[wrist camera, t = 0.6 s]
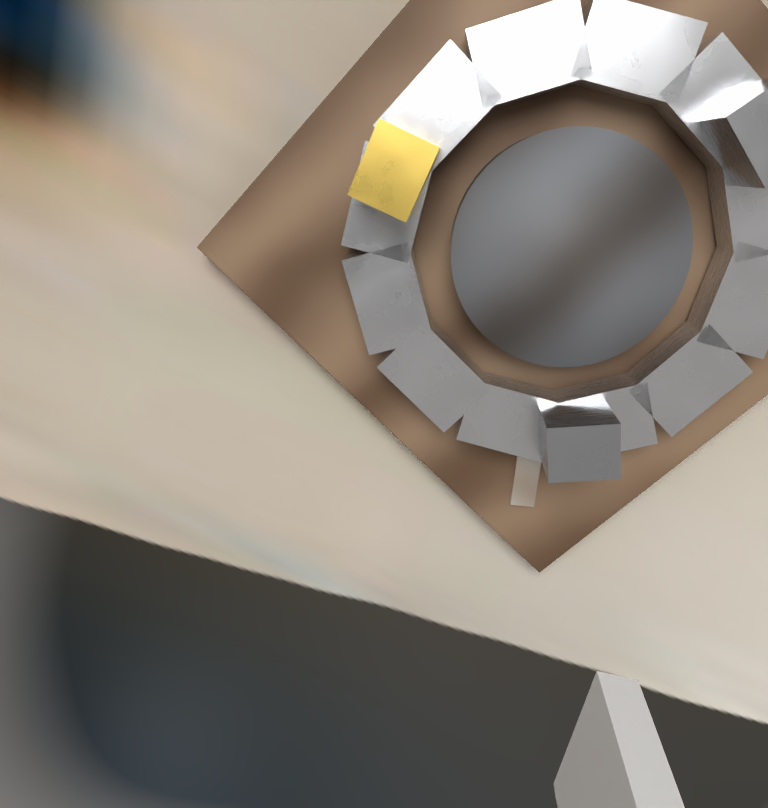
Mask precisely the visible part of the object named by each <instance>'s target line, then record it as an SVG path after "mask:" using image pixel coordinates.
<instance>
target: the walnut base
mask: <svg viewBox="0 0 768 808" xmlns="http://www.w3.org/2000/svg"><path fill="white" fill-rule="evenodd" d="M551 1H554V0H410V1H409V2H408V3H407V4H406V6H405V7H404V8H403V9H402V10H401V11H400V12H399V14H398V15H397V16H396V17H395V18H394V19H393V21H392V22H391V23H390V24H389V25H388V26H387V28H386V29H385V30H384V31H383V32H382V33H381V35H380V36H379V37H378V38H377V39H376V40H375V41H374V43H373V44H372V45H371V46H370V47H369V48H368V50H367V51H366V52H365V53H364V54H363V55H362V57H361V58H360V59H359V60H358V61H357V62H356V63H355V65H354V66H353V67H352V68H351V69H350V70H349V72H348V73H347V74H346V75H345V76H344V77H343V79H342V80H341V81H340V82H339V83H338V84H337V86H336V87H335V88H334V89H333V90H332V91H331V92H330V94H329V95H328V96H327V97H326V98H325V99H324V101H323V102H322V103H321V104H320V105H319V106H318V108H317V109H316V110H315V111H314V112H313V113H312V115H311V116H310V117H309V118H308V119H307V120H306V121H305V123H304V124H303V125H302V126H301V127H300V128H299V130H298V131H297V132H296V133H295V134H294V135H293V137H292V138H291V139H290V140H289V141H288V142H287V144H286V145H285V146H284V147H283V148H282V149H281V150H280V152H279V153H278V154H277V155H276V156H275V157H274V159H273V160H272V161H271V162H270V163H269V164H268V166H267V167H266V168H265V169H264V170H263V171H262V172H261V174H260V175H259V176H258V177H257V178H256V179H255V181H254V182H253V183H252V184H251V185H250V186H249V188H248V189H247V190H246V191H245V192H244V193H243V195H242V196H241V197H240V198H239V199H238V200H237V201H236V203H235V204H234V205H233V206H232V207H231V208H230V210H229V211H228V212H227V213H226V214H225V215H224V217H223V218H222V219H221V220H220V221H219V222H218V224H217V225H216V226H215V227H214V228H213V229H212V230H211V232H210V233H209V234H208V235H207V236H206V237H205V239H204V240H203V241H202V242H201V243H200V244H199V246H198V247H197V248H198V249H199V250H200V251H201V252H202V253H203V254H204V255H205V256H207V257H208V258H209V259H210V260H211V261H212V262H213V263H214V264H215V265H216V266H217V267H218V268H219V269H220V270H221V271H222V272H223V273H224V274H226V275H227V276H228V277H229V278H230V279H231V280H232V281H233V282H234V283H235V284H236V285H237V286H238V287H239V288H240V289H241V290H242V291H243V292H244V293H246V294H247V295H248V296H249V297H250V298H251V299H252V300H253V301H254V302H255V303H256V304H257V305H258V306H259V307H260V308H261V309H262V310H263V311H264V312H266V313H267V314H268V315H269V316H270V317H271V318H272V319H273V320H274V321H275V322H276V323H277V324H278V325H279V326H280V327H281V328H282V329H283V330H285V331H286V332H287V333H288V334H289V335H290V336H291V337H292V338H293V339H294V340H295V341H296V342H297V343H298V344H299V345H300V346H301V347H302V348H303V349H305V350H306V351H307V352H308V353H309V354H310V355H311V356H312V357H313V358H314V359H315V360H316V361H317V362H318V363H319V364H320V365H321V366H322V367H323V368H325V369H326V370H327V371H328V372H329V373H330V374H331V375H332V376H333V377H334V378H335V379H336V380H337V381H338V382H339V383H340V384H341V385H342V386H344V387H345V388H346V389H347V390H348V391H349V392H350V393H351V394H352V395H353V396H354V397H355V398H356V399H357V400H358V401H359V402H360V403H361V404H362V405H364V406H365V407H366V408H367V409H368V410H369V411H370V412H371V413H372V414H373V415H374V416H375V417H376V418H377V419H378V420H379V421H380V422H381V423H383V424H384V425H385V426H386V427H387V428H388V429H389V430H390V431H391V432H392V433H393V434H394V435H395V436H396V437H397V438H398V439H399V440H400V441H401V442H403V443H404V444H405V445H406V446H407V447H408V448H409V449H410V450H411V451H412V452H413V453H414V454H415V455H416V456H417V457H418V458H419V459H420V460H421V461H423V462H424V463H425V464H426V465H427V466H428V467H429V468H430V469H431V470H432V471H433V472H434V473H435V474H436V475H437V476H438V477H439V478H440V479H442V480H443V481H444V482H445V483H446V484H447V485H448V486H449V487H450V488H451V489H452V490H453V491H454V492H455V493H456V494H457V495H458V496H459V497H460V498H462V499H463V500H464V501H465V502H466V503H467V504H468V505H469V506H470V507H471V508H472V509H473V510H474V511H475V512H476V513H477V514H478V515H479V516H480V517H482V518H483V519H484V520H485V521H486V522H487V523H488V524H489V525H490V526H491V527H492V528H493V529H494V530H495V531H496V532H497V533H498V534H499V535H501V536H502V537H503V538H504V539H505V540H506V541H507V542H508V543H509V544H510V545H511V546H512V547H513V548H514V549H515V550H516V551H517V552H518V553H519V554H521V555H522V556H523V557H524V558H525V559H526V560H527V561H528V562H529V563H530V564H531V565H532V566H533V567H534V568H535V569H536V570H537V571H538V572H541V571H542V570H543V569H544V568H546V567H547V566H548V565H550V564H551V563H552V562H553V561H555V560H556V559H557V558H559V557H560V556H561V555H562V554H564V553H565V552H566V551H568V550H569V549H570V548H571V547H573V546H574V545H575V544H577V543H578V542H579V541H580V540H582V539H583V538H584V537H585V536H587V535H588V534H589V533H591V532H592V531H593V530H594V529H596V528H597V527H598V526H600V525H601V524H602V523H603V522H605V521H606V520H607V519H609V518H610V517H611V516H612V515H614V514H615V513H616V512H618V511H619V510H620V509H621V508H623V507H624V506H625V505H626V504H628V503H629V502H630V501H632V500H633V499H634V498H635V497H637V496H638V495H639V494H641V493H642V492H643V491H644V490H646V489H647V488H648V487H650V486H651V485H652V484H653V483H655V482H656V481H657V480H659V479H660V478H661V477H662V476H664V475H665V474H666V473H667V472H669V471H670V470H671V469H673V468H674V467H675V466H676V465H678V464H679V463H680V462H682V461H683V460H684V459H685V458H687V457H688V456H689V455H691V454H692V453H693V452H694V451H696V450H697V449H698V448H700V447H701V446H702V445H703V444H705V443H706V442H707V441H708V440H710V439H711V438H712V437H714V436H715V435H716V434H717V433H719V432H720V431H721V430H723V429H724V428H725V427H726V426H728V425H729V424H730V423H732V422H733V421H734V420H735V419H737V418H738V417H739V416H741V415H742V414H743V413H744V412H746V411H747V410H748V409H749V408H751V407H752V406H753V405H755V404H756V403H757V402H758V401H760V400H761V399H762V398H764V397H765V396H766V395H767V394H768V350H767V352H766V355H765V357H764V359H760V358H757V357H753V356H749V355H745V354H742V353H738V352H736V354H737V355H738V356H739V357H740V358H741V359H742V360H743V361H744V362H745V363H746V365H747V366H748V367H749V368H750V369H751V370H752V371H753V373H752V374H750V375H749V376H748V377H746V378H745V379H744V380H743V381H741V382H740V383H739V384H738V385H736V386H735V387H734V388H733V389H731V390H730V391H729V392H728V393H726V394H725V395H724V396H723V397H721V398H720V399H719V400H718V401H716V402H715V403H714V404H713V405H711V406H710V407H709V408H708V409H706V410H705V411H704V412H703V413H701V414H700V415H699V416H698V417H696V418H695V419H694V420H692V421H691V422H690V423H689V424H687V425H686V426H685V427H684V428H682V429H681V430H680V431H679V432H677V433H676V434H675V435H674V436H672V437H671V436H670V435H669V434H668V433H667V432H666V431H665V429H664V428H663V427H662V426H661V425H660V424H659V423H658V422H657V421H656V420H655V419H654V418H653V419H654V425H655V430H656V436H657V442H658V444H654V445H649V446H644V447H640V448H635V449H630V450H626V451H621V479H618V480H599V481H581V482H562V483H548V480H547V477H546V474H545V471H544V468H543V464H542V463H541V462H538V461H534V460H530V459H526V458H523V457H519V456H515V455H512V454H508V453H504V452H501V451H497V450H493V449H489V448H486V447H482V446H478V445H475V444H471V443H467V442H464V441H460V440H456V423H457V421H456V422H455V423H454V424H453V425H452V426H451V427H450V428H449V429H447V430H446V431H445V432H443V431H442V430H441V429H440V428H439V427H438V426H437V425H436V424H435V423H433V422H432V421H431V420H430V419H429V418H428V417H427V416H426V415H425V414H424V413H423V412H422V411H421V410H420V409H419V408H418V407H417V406H416V405H415V404H414V403H413V402H412V401H411V400H410V399H409V398H408V397H407V396H406V395H404V394H403V393H402V392H401V391H400V390H399V389H398V388H397V387H396V386H395V385H394V384H393V383H392V382H391V381H390V380H389V379H388V378H387V377H386V376H385V375H384V374H383V373H382V372H381V371H380V370H379V369H378V368H377V365H378V362H379V359H380V356H381V355H382V354H383V353H385V352H386V351H384V352H380V353H376V354H372V355H369V353H368V350H367V346H366V343H365V339H364V336H363V333H362V329H361V326H360V322H359V319H358V316H357V312H356V309H355V305H354V302H353V298H352V295H351V292H350V288H349V285H348V281H347V278H346V275H345V271H344V268H343V264H342V260H343V259H344V258H345V257H346V256H347V255H350V254H353V253H357V252H360V251H361V250H357V249H353V248H350V247H346V246H342V245H341V243H342V238H343V234H344V230H345V225H346V221H347V217H348V212H349V208H350V204H351V199H352V197H351V196H348V195H347V194H348V191H349V189H350V186H351V184H352V182H353V179H354V177H355V174H356V172H357V169H358V167H359V165H360V160H361V156H362V152H363V147H364V143H365V140H366V141H370V138H371V136H372V133H373V131H374V129H375V127H374V126H373V125H374V123H375V122H376V121H377V120H378V119H379V118H380V117H381V116H382V115H383V113H384V112H385V111H386V110H387V109H388V108H389V107H390V106H391V105H392V103H393V102H394V101H395V100H396V99H397V98H398V97H399V96H400V95H401V93H402V92H403V91H404V90H405V89H406V88H407V87H408V86H409V85H410V83H411V82H412V81H413V80H414V79H415V78H416V77H417V76H418V75H419V73H420V72H421V71H422V70H423V69H424V68H425V67H426V66H427V65H428V63H429V62H430V61H431V60H432V59H433V58H434V57H435V56H436V55H437V53H438V52H439V51H440V50H441V49H442V48H443V47H444V46H445V44H446V43H447V42H448V41H449V40H450V39H451V40H452V41H453V43H454V44H455V45H456V46H457V47H458V48H459V49H460V50H461V51H462V52H463V54H464V55H465V56H466V57H467V58H468V59H469V57H468V52H467V48H466V43H465V39H464V36H465V29H468V28H471V27H474V26H477V25H480V24H483V23H486V22H489V21H492V20H495V19H499V18H502V17H505V16H508V15H511V14H514V13H517V12H520V11H523V10H527V9H530V8H533V7H536V6H539V5H542V4H545V3H548V2H551ZM588 1H589V0H580V5H581V10H582V16H583V13H584V10H585V7H586V4H587V2H588ZM627 1H630V2H634V3H638V4H642V5H645V6H649V7H653V8H656V9H660V10H664V11H667V12H671V13H675V14H678V15H682V16H686V17H689V18H693V19H697V20H701V21H704V22H708V24H707V26H706V29H705V32H704V35H703V37H702V40H701V43H702V42H703V41H704V40H706V39H708V38H711V37H713V36H715V35H717V34H719V33H721V32H723V33H724V34H725V36H726V37H727V38H728V39H729V40H730V42H731V43H732V44H733V45H734V46H735V48H736V49H737V50H738V51H739V53H740V54H741V55H742V56H743V57H744V59H745V60H746V61H747V62H748V63H749V65H750V66H751V67H752V68H753V69H754V71H755V72H756V73H757V74H758V76H759V77H760V78H761V79H762V80H763V79H767V78H768V9H767V8H766V6H765V5H764V4H763V3H762V1H761V0H627ZM701 43H700V44H701ZM716 247H717V245H716V238H715V231H714V224H713V216H712V209H711V202H710V195H709V187H708V180H707V173H706V167H705V166H704V165H703V163H702V162H701V161H700V160H699V159H698V158H697V156H696V155H695V154H694V153H693V152H692V151H691V149H690V148H689V147H688V146H687V145H686V144H685V143H684V141H683V140H682V139H681V138H680V137H679V136H678V134H677V133H676V132H675V131H674V130H673V129H672V128H671V126H670V125H669V124H668V123H667V122H666V121H665V119H664V118H663V117H662V116H661V115H660V114H659V113H658V111H657V110H656V109H655V108H654V107H653V106H651V105H647V104H644V103H640V102H636V101H633V100H629V99H625V98H621V97H618V96H614V95H610V94H607V93H603V92H599V91H596V90H592V89H588V88H585V87H581V86H577V85H574V84H572V85H569V86H566V87H562V88H559V89H556V90H552V91H549V92H546V93H542V94H539V95H536V96H533V97H529V98H526V99H523V100H519V101H516V102H513V103H509V104H506V105H503V106H499V107H496V108H493V109H491V110H490V111H489V112H488V113H487V114H486V115H485V116H484V117H483V118H482V119H481V120H480V121H479V122H478V123H477V125H476V126H475V127H474V128H473V129H472V130H471V131H470V132H469V133H468V134H467V135H466V136H465V137H464V138H463V139H462V140H461V141H460V142H459V143H458V144H457V146H456V147H455V148H454V149H453V150H452V151H451V152H450V153H449V154H448V155H447V156H446V157H445V158H444V159H443V160H442V161H441V162H440V163H439V164H438V165H437V167H436V168H435V169H434V170H433V172H432V176H431V180H430V184H429V187H428V191H427V195H426V199H425V203H424V206H423V210H422V214H421V218H420V222H419V225H418V229H417V233H416V237H415V240H414V244H413V251H414V255H415V259H416V262H417V266H418V270H419V274H420V278H421V281H422V285H423V289H424V293H425V297H426V301H427V304H428V308H429V312H430V316H431V320H432V321H433V322H434V323H435V324H436V325H437V326H438V327H439V328H440V329H441V330H442V331H443V332H444V333H445V334H446V335H447V336H448V337H449V338H450V339H451V340H452V341H453V342H454V343H455V344H456V345H457V346H458V347H459V348H460V349H461V350H462V351H463V352H464V353H465V354H466V355H467V356H468V357H469V358H470V359H471V360H472V361H473V362H474V363H475V364H476V365H477V366H478V367H479V368H480V369H481V370H482V371H485V372H488V373H492V374H496V375H500V376H503V377H507V378H511V379H514V380H518V381H522V382H525V383H529V384H533V385H537V386H540V387H544V388H548V389H551V390H554V389H558V388H562V387H567V386H571V385H575V384H579V383H584V382H588V381H592V380H597V379H601V378H605V377H609V376H614V375H618V374H622V373H626V372H627V371H629V370H630V369H631V368H632V367H633V366H634V365H636V364H637V363H638V362H639V361H640V360H642V359H643V358H644V357H645V356H646V355H647V354H649V353H650V352H651V351H652V350H653V349H655V348H656V347H657V346H658V345H659V344H660V343H662V342H663V341H664V340H665V339H666V338H668V337H669V336H670V335H671V334H672V333H673V332H675V331H676V330H677V329H678V328H679V327H681V326H682V325H683V324H684V323H685V322H686V321H687V319H688V316H689V314H690V311H691V309H692V306H693V304H694V301H695V299H696V297H697V294H698V292H699V289H700V287H701V284H702V282H703V279H704V277H705V274H706V272H707V270H708V267H709V265H710V262H711V260H712V257H713V255H714V252H715V250H716Z"/></svg>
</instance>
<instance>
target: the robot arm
mask: <svg viewBox="0 0 768 808" xmlns="http://www.w3.org/2000/svg"><path fill="white" fill-rule="evenodd" d="M554 789H555V795H556V801H557V806H558V808H685V807H684V805H683V802H682V799H681V796H680V794H679V791H678V789H677V786H676V783H675V780H674V777H673V775H672V772H671V769H670V766H669V764H668V761H667V758H666V756H665V753H664V751H663V748H662V745H661V742H660V739H659V736H658V734H657V731H656V728H655V726H654V723H653V720H652V718H651V715H650V712H649V709H648V706H647V704H646V701H645V699H644V696H643V693H642V690H641V687H640V685H639V682H638V680H633V679H629V678H625V677H621V676H616V675H612V674H608V673H603V672H599V671H597V672H596V675H595V677H594V680H593V682H592V685H591V688H590V690H589V693H588V696H587V698H586V701H585V703H584V706H583V708H582V711H581V714H580V716H579V719H578V722H577V724H576V727H575V730H574V732H573V735H572V738H571V740H570V742H569V745H568V748H567V750H566V753H565V755H564V758H563V761H562V763H561V766H560V768H559V771H558V774H557V776H556V779H555V782H554Z"/></svg>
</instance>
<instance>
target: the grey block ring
mask: <svg viewBox="0 0 768 808" xmlns="http://www.w3.org/2000/svg"><path fill="white" fill-rule="evenodd" d="M707 24H708V22H704V21H701V20H697V19H693V18H689V17H686V16H682V15H678V14H675V13H671V12H667V11H664V10H660V9H656V8H653V7H649V6H645V5H642V4H638V3H634V2H630V1H627V0H589V1H588V2H587V4H586V7H585V10H584V13H583V16H582V10H581V5H580V0H554V1H551V2H548V3H545V4H542V5H539V6H536V7H533V8H530V9H527V10H523V11H520V12H517V13H514V14H511V15H508V16H505V17H502V18H499V19H495V20H492V21H489V22H486V23H483V24H480V25H477V26H474V27H471V28H468V29H465V36H464V39H465V43H466V48H467V52H468V57H469V59H468V58H467V57H466V56H465V55H464V54H463V52H462V51H461V50H460V49H459V48H458V47H457V46H456V45H455V44H454V43H453V41H452V40H451V39H450V40H449V41H448V42H447V43H446V44H445V46H444V47H443V48H442V49H441V50H440V51H439V52H438V53H437V55H436V56H435V57H434V58H433V59H432V60H431V61H430V62H429V63H428V65H427V66H426V67H425V68H424V69H423V70H422V71H421V72H420V73H419V75H418V76H417V77H416V78H415V79H414V80H413V81H412V82H411V83H410V85H409V86H408V87H407V88H406V89H405V90H404V91H403V92H402V93H401V95H400V96H399V97H398V98H397V99H396V100H395V101H394V102H393V103H392V105H391V106H390V107H389V108H388V109H387V110H386V111H385V112H384V113H383V115H382V116H381V117H380V118H379V119H378V120H377V121H376V122H375V123H374V125H373V126H374V127H375V129H374V131H373V133H372V136H371V138H370V141H366V140H365V143H364V147H363V152H362V156H361V160H360V165H359V167H358V169H357V172H356V174H355V177H354V179H353V182H352V184H351V186H350V189H349V191H348V194H347V195H348V196H351V197H352V199H351V204H350V208H349V212H348V217H347V221H346V225H345V230H344V234H343V238H342V243H341V245H342V246H346V247H350V248H353V249H357V250H361V251H360V252H357V253H353V254H350V255H347V256H346V257H345V258H344V259H343V260H342V264H343V268H344V271H345V275H346V278H347V281H348V285H349V288H350V292H351V295H352V298H353V302H354V305H355V309H356V312H357V316H358V319H359V322H360V326H361V329H362V333H363V336H364V339H365V343H366V346H367V350H368V353H369V355H372V354H376V353H380V352H384V351H386V352H385V353H383V354H382V355H381V356H380V359H379V362H378V365H377V368H378V369H379V370H380V371H381V372H382V373H383V374H384V375H385V376H386V377H387V378H388V379H389V380H390V381H391V382H392V383H393V384H394V385H395V386H396V387H397V388H398V389H399V390H400V391H401V392H402V393H403V394H404V395H406V396H407V397H408V398H409V399H410V400H411V401H412V402H413V403H414V404H415V405H416V406H417V407H418V408H419V409H420V410H421V411H422V412H423V413H424V414H425V415H426V416H427V417H428V418H429V419H430V420H431V421H432V422H433V423H435V424H436V425H437V426H438V427H439V428H440V429H441V430H442V431H443V432H445V431H446V430H447V429H449V428H450V427H451V426H452V425H453V424H454V423H455V422H456V421H457V423H456V440H460V441H464V442H467V443H471V444H475V445H478V446H482V447H486V448H489V449H493V450H497V451H501V452H504V453H508V454H512V455H515V456H519V457H523V458H526V459H530V460H534V461H538V462H541V463H542V464H543V468H544V471H545V474H546V477H547V480H548V483H562V482H581V481H599V480H618V479H621V451H626V450H630V449H635V448H640V447H644V446H649V445H654V444H658V442H657V436H656V430H655V425H654V419H655V420H656V421H657V422H658V423H659V424H660V425H661V426H662V427H663V428H664V429H665V431H666V432H667V433H668V434H669V435H670V436H671V437H672V436H674V435H675V434H676V433H677V432H679V431H680V430H681V429H682V428H684V427H685V426H686V425H687V424H689V423H690V422H691V421H692V420H694V419H695V418H696V417H698V416H699V415H700V414H701V413H703V412H704V411H705V410H706V409H708V408H709V407H710V406H711V405H713V404H714V403H715V402H716V401H718V400H719V399H720V398H721V397H723V396H724V395H725V394H726V393H728V392H729V391H730V390H731V389H733V388H734V387H735V386H736V385H738V384H739V383H740V382H741V381H743V380H744V379H745V378H746V377H748V376H749V375H750V374H752V373H753V371H752V370H751V369H750V368H749V367H748V366H747V365H746V363H745V362H744V361H743V360H742V359H741V358H740V357H739V356H738V355H737V354H736V352H738V353H742V354H745V355H749V356H753V357H757V358H760V359H764V357H765V355H766V352H767V350H768V78H767V79H763V80H762V79H761V78H760V77H759V76H758V74H757V73H756V72H755V71H754V69H753V68H752V67H751V66H750V65H749V63H748V62H747V61H746V60H745V59H744V57H743V56H742V55H741V54H740V53H739V51H738V50H737V49H736V48H735V46H734V45H733V44H732V43H731V42H730V40H729V39H728V38H727V37H726V36H725V34H724V33H723V32H721V33H719V34H717V35H715V36H713V37H711V38H708V39H706V40H704V41H703V42H702V43H701V40H702V37H703V35H704V32H705V29H706V26H707ZM700 43H701V44H700ZM572 84H574V85H577V86H581V87H585V88H588V89H592V90H596V91H599V92H603V93H607V94H610V95H614V96H618V97H621V98H625V99H629V100H633V101H636V102H640V103H644V104H647V105H651V106H653V107H654V108H655V109H656V110H657V111H658V113H659V114H660V115H661V116H662V117H663V118H664V119H665V121H666V122H667V123H668V124H669V125H670V126H671V128H672V129H673V130H674V131H675V132H676V133H677V134H678V136H679V137H680V138H681V139H682V140H683V141H684V143H685V144H686V145H687V146H688V147H689V148H690V149H691V151H692V152H693V153H694V154H695V155H696V156H697V158H698V159H699V160H700V161H701V162H702V163H703V165H704V166H705V167H706V173H707V180H708V187H709V195H710V202H711V209H712V216H713V224H714V231H715V238H716V245H717V247H716V250H715V252H714V255H713V257H712V260H711V262H710V265H709V267H708V270H707V272H706V274H705V277H704V279H703V282H702V284H701V287H700V289H699V292H698V294H697V297H696V299H695V301H694V304H693V306H692V309H691V311H690V314H689V316H688V319H687V321H686V322H685V323H684V324H683V325H682V326H681V327H679V328H678V329H677V330H676V331H675V332H673V333H672V334H671V335H670V336H669V337H668V338H666V339H665V340H664V341H663V342H662V343H660V344H659V345H658V346H657V347H656V348H655V349H653V350H652V351H651V352H650V353H649V354H647V355H646V356H645V357H644V358H643V359H642V360H640V361H639V362H638V363H637V364H636V365H634V366H633V367H632V368H631V369H630V370H629V371H627V372H626V373H622V374H618V375H614V376H609V377H605V378H601V379H597V380H592V381H588V382H584V383H579V384H575V385H571V386H567V387H562V388H558V389H554V390H551V389H548V388H544V387H540V386H537V385H533V384H529V383H525V382H522V381H518V380H514V379H511V378H507V377H503V376H500V375H496V374H492V373H488V372H485V371H482V370H481V369H480V368H479V367H478V366H477V365H476V364H475V363H474V362H473V361H472V360H471V359H470V358H469V357H468V356H467V355H466V354H465V353H464V352H463V351H462V350H461V349H460V348H459V347H458V346H457V345H456V344H455V343H454V342H453V341H452V340H451V339H450V338H449V337H448V336H447V335H446V334H445V333H444V332H443V331H442V330H441V329H440V328H439V327H438V326H437V325H436V324H435V323H434V322H433V321H432V320H431V316H430V312H429V308H428V304H427V301H426V297H425V293H424V289H423V285H422V281H421V278H420V274H419V270H418V266H417V262H416V259H415V255H414V251H413V244H414V240H415V237H416V233H417V229H418V225H419V222H420V218H421V214H422V210H423V206H424V203H425V199H426V195H427V191H428V187H429V184H430V180H431V176H432V172H433V170H434V169H435V168H436V167H437V165H438V164H439V163H440V162H441V161H442V160H443V159H444V158H445V157H446V156H447V155H448V154H449V153H450V152H451V151H452V150H453V149H454V148H455V147H456V146H457V144H458V143H459V142H460V141H461V140H462V139H463V138H464V137H465V136H466V135H467V134H468V133H469V132H470V131H471V130H472V129H473V128H474V127H475V126H476V125H477V123H478V122H479V121H480V120H481V119H482V118H483V117H484V116H485V115H486V114H487V113H488V112H489V111H490V110H491V109H493V108H496V107H499V106H503V105H506V104H509V103H513V102H516V101H519V100H523V99H526V98H529V97H533V96H536V95H539V94H542V93H546V92H549V91H552V90H556V89H559V88H562V87H566V86H569V85H572ZM653 418H654V419H653Z"/></svg>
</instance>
